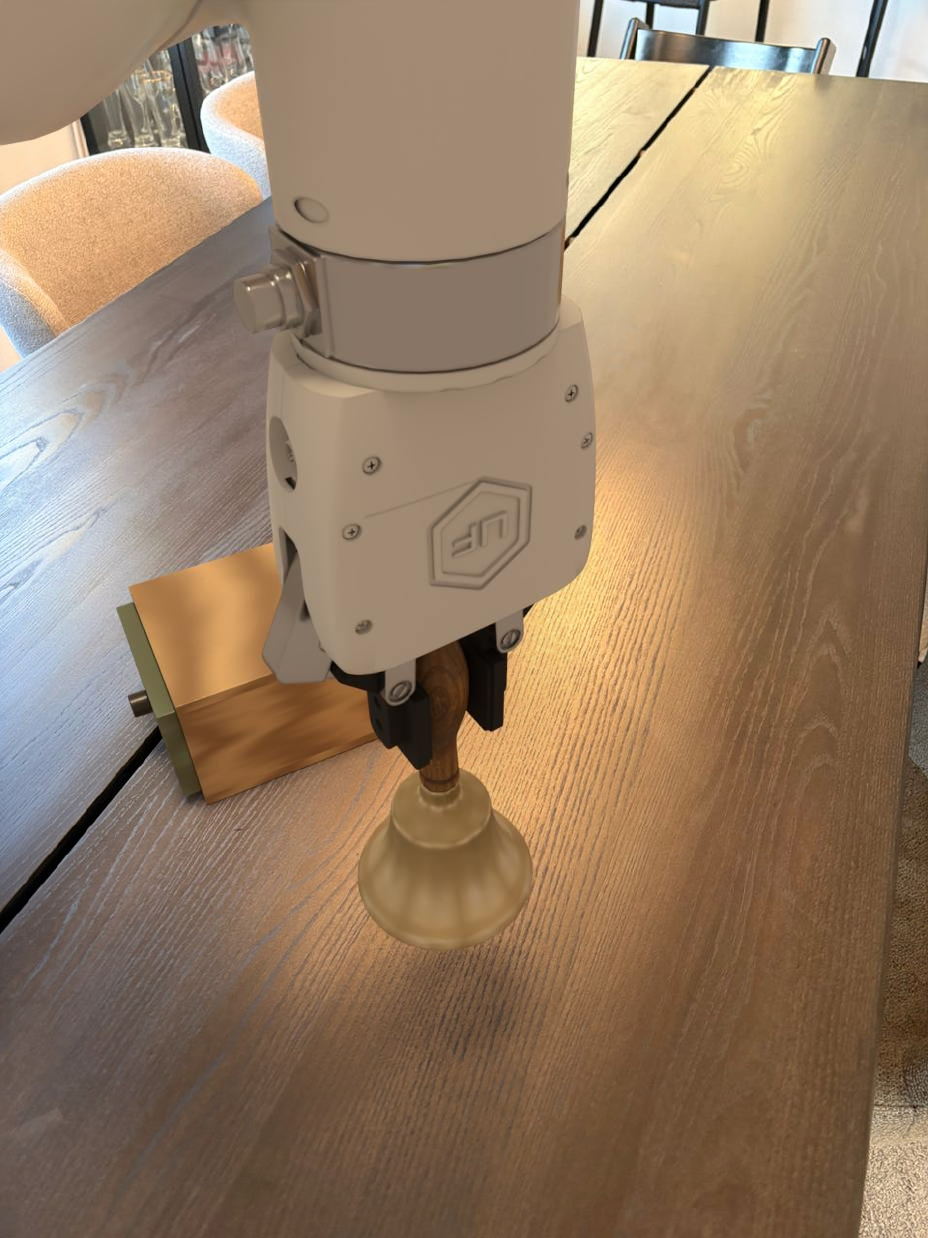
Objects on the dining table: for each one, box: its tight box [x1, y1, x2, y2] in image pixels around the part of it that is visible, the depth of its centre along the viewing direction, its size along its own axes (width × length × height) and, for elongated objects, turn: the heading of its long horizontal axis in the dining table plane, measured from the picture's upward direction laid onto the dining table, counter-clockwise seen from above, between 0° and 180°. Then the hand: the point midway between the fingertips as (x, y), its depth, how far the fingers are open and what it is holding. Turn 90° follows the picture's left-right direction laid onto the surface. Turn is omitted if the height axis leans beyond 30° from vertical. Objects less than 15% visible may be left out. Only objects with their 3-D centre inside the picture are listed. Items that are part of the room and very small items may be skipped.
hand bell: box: [357, 640, 534, 952], centre depth 40 cm, size 8×8×16 cm
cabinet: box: [128, 541, 379, 806], centre depth 66 cm, size 15×13×10 cm
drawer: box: [115, 601, 202, 798], centre depth 66 cm, size 15×11×8 cm
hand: (440, 723), depth 38 cm, fingers closed on hand bell, 2 cm apart
